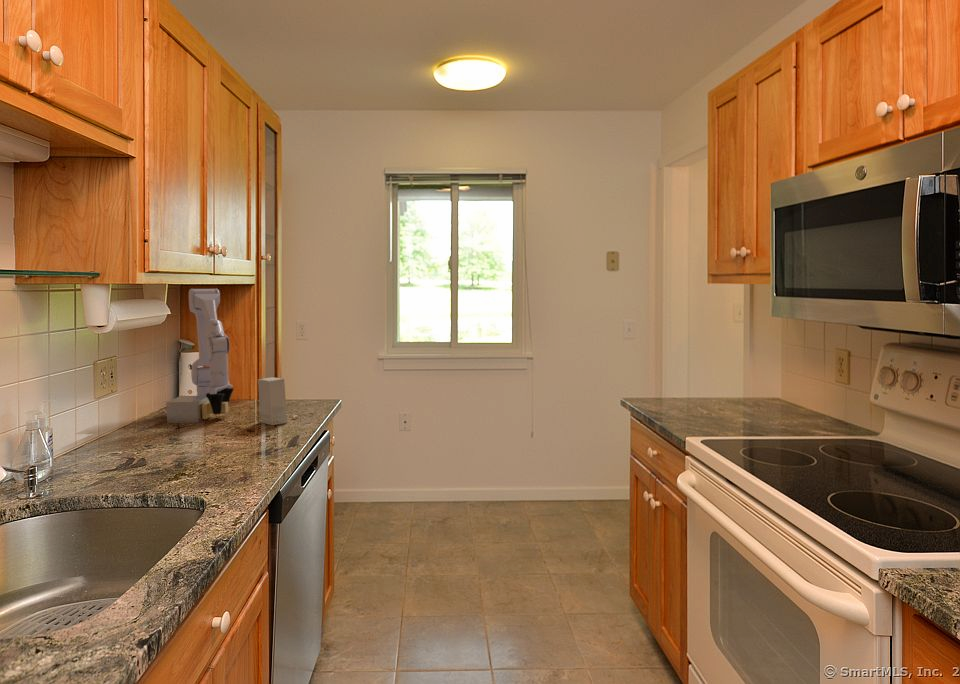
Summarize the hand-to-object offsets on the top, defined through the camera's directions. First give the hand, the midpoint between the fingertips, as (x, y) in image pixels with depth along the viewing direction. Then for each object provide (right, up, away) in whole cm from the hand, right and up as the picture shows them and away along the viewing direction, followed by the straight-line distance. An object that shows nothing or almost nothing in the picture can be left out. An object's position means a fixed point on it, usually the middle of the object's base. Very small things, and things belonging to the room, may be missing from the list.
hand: (220, 411), depth 224 cm
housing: (-11, -3, 0) cm, 11 cm away
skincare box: (+20, -3, -7) cm, 21 cm away
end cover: (-6, -2, 0) cm, 6 cm away
